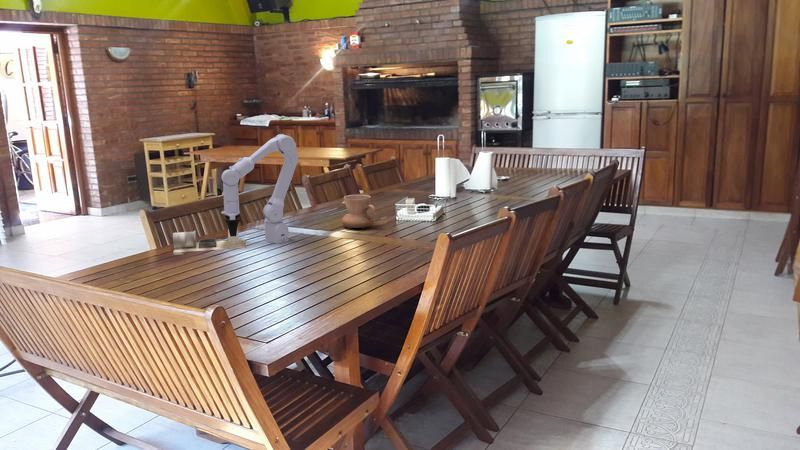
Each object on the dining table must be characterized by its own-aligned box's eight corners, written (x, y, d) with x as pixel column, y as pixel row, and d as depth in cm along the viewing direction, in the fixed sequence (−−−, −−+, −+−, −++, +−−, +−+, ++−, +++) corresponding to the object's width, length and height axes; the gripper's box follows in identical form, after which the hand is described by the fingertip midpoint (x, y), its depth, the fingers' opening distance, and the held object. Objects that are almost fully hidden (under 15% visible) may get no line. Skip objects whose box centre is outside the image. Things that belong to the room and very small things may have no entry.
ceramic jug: (333, 227, 286) (332, 196, 283) (353, 222, 298) (353, 192, 295) (364, 233, 276) (363, 201, 273) (384, 227, 288) (384, 196, 285)
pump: (241, 243, 254) (240, 226, 252) (232, 245, 251) (231, 228, 249) (235, 242, 256) (234, 224, 255) (226, 244, 253) (225, 226, 252)
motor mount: (244, 241, 262) (243, 224, 260) (246, 250, 248) (245, 231, 247) (175, 246, 254) (174, 228, 253) (173, 255, 241) (171, 236, 240)
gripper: (220, 197, 256) (222, 230, 258) (220, 204, 242) (222, 238, 245) (238, 197, 257) (240, 229, 260) (240, 203, 244) (241, 237, 247)
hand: (233, 234), depth 253 cm, fingers open, 7 cm apart
